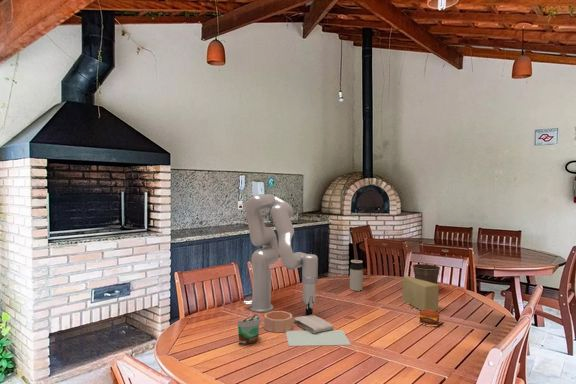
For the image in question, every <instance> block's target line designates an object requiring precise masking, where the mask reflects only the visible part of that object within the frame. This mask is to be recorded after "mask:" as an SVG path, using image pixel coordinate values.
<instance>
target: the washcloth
mask: <svg viewBox="0 0 576 384" xmlns="http://www.w3.org/2000/svg"><path fill="white" fill-rule="evenodd" d="M292 322H294V324H295V325H297V326H299V327H301V328H302V329H304V330H305V331H309V332H311V333H318V332H321V331H327V330H334V328H335V327H334V324H332V323H330V322H328V321H326V320H325V319H323V318H321V317H318V316H317V315H315V314H312V315H308V316H306V315H303V316H301V315H300V316H297V317H294V318H293V319H292Z"/></svg>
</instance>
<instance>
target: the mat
mask: <svg viewBox="0 0 576 384" xmlns="http://www.w3.org/2000/svg"><path fill="white" fill-rule="evenodd" d="M285 335H286V340H287V345H288V347H318V346H319V347H320V346H322V347H323V346H326V347H327V346H352V343H351V342H350V340H349V339H348V337H347V335H346V334H345V331H344V330H343V329H331V330H327V331H321V332H318V333H311V332H309V331H307V330H290V331H286V332H285Z"/></svg>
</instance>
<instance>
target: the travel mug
mask: <svg viewBox="0 0 576 384" xmlns="http://www.w3.org/2000/svg"><path fill="white" fill-rule="evenodd" d="M350 263H351V264H350V265H349V290H350V289H351V291H352V290H355V291H354V292H361V291H363V287H364V285H363V281H364V265H363V260H359V259H351V260H350ZM360 290H361V291H360Z"/></svg>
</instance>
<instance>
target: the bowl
mask: <svg viewBox="0 0 576 384" xmlns="http://www.w3.org/2000/svg"><path fill="white" fill-rule="evenodd" d="M263 318H264V320H263V321H264V322H263V323H264V324H263V329H264V330H265V331H266V332H270V333H274V334H278V333H279V334H281V333H283V334H284V333H286V331H292V329H293V314H292V313H291V312H289V311H288V312H287V311H284V310H271V311H268V312H264V317H263Z"/></svg>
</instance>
